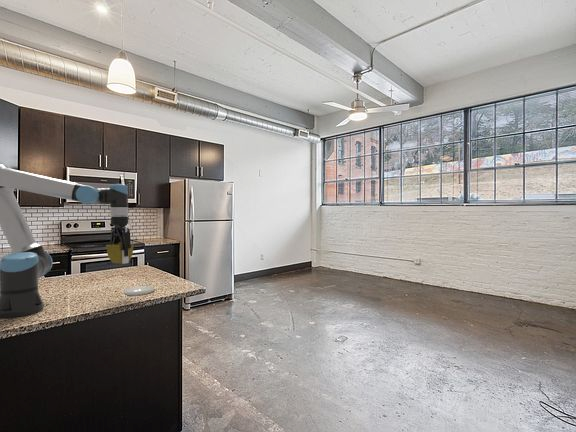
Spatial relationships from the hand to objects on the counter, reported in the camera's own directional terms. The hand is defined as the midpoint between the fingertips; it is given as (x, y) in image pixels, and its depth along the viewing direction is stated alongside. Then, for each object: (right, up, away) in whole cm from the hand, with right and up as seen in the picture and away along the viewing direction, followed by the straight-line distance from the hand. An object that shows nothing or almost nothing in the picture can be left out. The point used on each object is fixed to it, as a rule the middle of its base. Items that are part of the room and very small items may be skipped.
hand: (120, 262), depth 149 cm
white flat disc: (+5, -16, +8) cm, 19 cm away
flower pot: (0, 0, 0) cm, 0 cm away
